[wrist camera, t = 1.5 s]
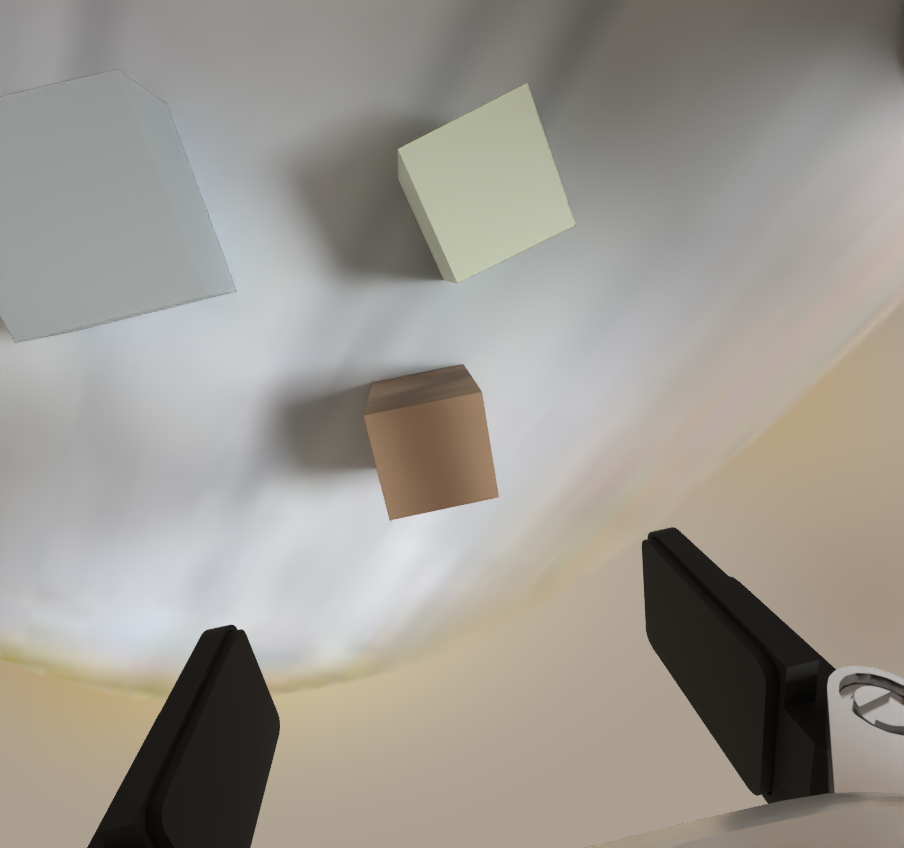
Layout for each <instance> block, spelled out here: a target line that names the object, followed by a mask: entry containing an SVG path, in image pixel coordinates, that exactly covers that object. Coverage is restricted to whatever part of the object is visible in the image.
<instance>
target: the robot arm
mask: <svg viewBox="0 0 904 848" xmlns="http://www.w3.org/2000/svg"><path fill="white" fill-rule="evenodd" d="M642 555H643V556H642V557H643V577H644V597H645V618H646V632H647V636H648V639H649V642H650V644H651V645H652V647H653V649H654V650H655V652H656V653H657V655H658V656H659V658H660V659H661V661H662V662H663V663H664V665H665V666H666V668H667V669H668V671H669V672H670V674H671V675H672V677H673V678H674V680H675V681H676V683H677V684H678V686H679V687H680V689H681V690H682V692H683V693H684V694H685V696H686V697H687V699H688V700H689V702H690V703H691V705H692V706H693V708H694V709H695V711H696V712H697V714H698V715H699V716H700V718H701V719H702V721H703V722H704V724H705V725H706V727H707V728H708V730H709V731H710V733H711V734H712V736H713V737H714V739H715V740H716V741H717V743H718V744H719V746H720V747H721V749H722V750H723V752H724V753H725V755H726V756H727V758H728V759H729V761H730V762H731V763H732V765H733V767H734V768H735V770H736V771H737V772H738V774H739V775H740V777H741V778H742V780H743V781H744V783H745V784H746V786H747V787H748V788H749V790H750V791H751V792H752V793H753V794H755V795H761V794H762V796H763V797H764V798H765V800H766V801H767V803H768V804H767V805H762V806H757V807H753V808H749V809H744V810H739V811H735V812H730V813H726V814H721V815H717V816H713V817H708V818H704V819H699V820H695V821H691V822H687V823H683V824H679V825H675V826H671V827H667V828H663V829H659V830H655V831H651V832H647V833H643V834H639V835H635V836H631V837H626V838H622V839H618V840H615V841H610V842H606V843H602V844H598V845H594V846H590V847H586V848H904V679H903V678H901V677H899V676H897V675H895V674H892V673H889V672H886V671H883V670H880V669H877V668H871V667H865V666H846V667H843V668H840V669H837V670H836V669H835V668H834V667H833V666H832V665H830V664H829V663H828V662H827V661H826V660H825V659H824V658H823V657H822V656H821V655H819V654H818V653H817V652H816V651H815V650H814V649H813V648H812V647H810V645H808V644H807V643H806V642H805V641H804V640H803V639H802V638H801V637H800V636H799V635H797V634H796V633H795V632H794V631H793V630H792V629H791V628H790V627H788V625H786V624H785V623H784V622H783V621H782V620H781V619H780V618H779V617H778V616H777V615H775V614H774V613H773V612H772V611H771V610H770V609H769V608H768V607H767V606H766V605H764V604H763V603H762V602H761V601H760V600H759V599H758V598H757V597H755V596H754V595H753V594H752V593H751V592H750V591H749V590H748V589H747V588H745V586H743V585H742V584H741V583H740V582H739V581H737V580H736V579H735V578H733V577H730V576H728V575H727V574H725V573H724V572H723V571H722V570H721V569H720V568H719V567H718V566H717V565H716V564H715V563H714V562H712V561H711V560H710V559H709V558H708V557H707V556H706V555H705V554H704V553H703V552H702V551H701V550H699V549H698V548H697V547H696V546H695V545H694V544H693V543H692V542H691V541H690V540H689V539H687V538H686V537H685V536H684V535H683V534H682V533H681V532H680V531H679V530H677V529H676V528H673V527H672V528H667V529H663V530H658V531H654V532H650V533H649V534H648V539H647V540H644V541H643V542H642ZM279 731H280V721H279V716H278V713H277V710H276V708H275V705H274V703H273V700H272V698H271V695H270V693H269V690H268V688H267V685H266V683H265V680H264V678H263V675H262V673H261V670H260V668H259V665H258V663H257V660H256V658H255V655H254V653H253V650H252V648H251V645H250V643H249V640H248V638H247V635H246V633H245V631H243V630H237V628H236V627H235V626H234V625H228V626H223V627H219V628H214V629H210V630H206V631H205V632H204V633H203V634H202V635H201V637H200V639H199V641H198V643H197V645H196V646H195V648H194V650H193V652H192V654H191V656H190V658H189V660H188V661H187V663H186V665H185V667H184V669H183V671H182V673H181V674H180V676H179V678H178V680H177V682H176V684H175V686H174V688H173V689H172V691H171V693H170V695H169V697H168V699H167V701H166V703H165V704H164V706H163V708H162V710H161V712H160V713H159V715H158V717H157V719H156V720H155V722H154V724H153V726H152V728H151V730H150V732H149V734H148V735H147V737H146V739H145V741H144V743H143V745H142V747H141V748H140V751H139V752H138V754H137V756H136V758H135V760H134V762H133V763H132V765H131V767H130V769H129V771H128V773H127V775H126V776H125V779H124V780H123V782H122V784H121V786H120V788H119V789H118V791H117V793H116V795H115V797H114V799H113V801H112V802H111V804H110V806H109V808H108V810H107V812H106V814H105V816H104V817H103V819H102V821H101V823H100V825H99V827H98V829H97V831H96V832H95V834H94V836H93V838H92V840H91V842H90V844H89V845H88V847H87V848H250V846H251V843H252V839H253V835H254V831H255V827H256V823H257V819H258V815H259V811H260V807H261V803H262V799H263V795H264V791H265V787H266V783H267V780H268V776H269V772H270V768H271V764H272V760H273V756H274V752H275V748H276V744H277V740H278V736H279Z"/></svg>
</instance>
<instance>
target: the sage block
mask: <svg viewBox="0 0 904 848" xmlns="http://www.w3.org/2000/svg"><path fill="white" fill-rule="evenodd" d="M398 180H399V183H400V185H401V187H402V189H403V191H404V194H405V196H406V198H407V200H408V202H409V205H410V207H411V209H412V211H413V213H414V216H415V218H416V220H417V222H418V224H419V227H420V229H421V231H422V233H423V236H424V238H425V240H426V242H427V244H428V247H429V249H430V251H431V253H432V255H433V258H434V260H435V262H436V264H437V266H438V269H439V271H440V273H441V275H442V278H443V280H445V281H449V282H453V283H457V284H458V283H460V282H462V281H464V280H466V279H468V278H470V277H472V276H474V275H476V274H478V273H480V272H482V271H484V270H486V269H488V268H490V267H492V266H494V265H496V264H498V263H500V262H502V261H504V260H506V259H508V258H510V257H512V256H514V255H516V254H518V253H520V252H522V251H524V250H526V249H528V248H530V247H532V246H534V245H536V244H538V243H540V242H543V241H545V240H547V239H549V238H551V237H553V236H555V235H557V234H559V233H561V232H563V231H565V230H567V229H569V228H571V227H573V226H575V225H576V224H575V221H574V218H573V215H572V212H571V209H570V206H569V204H568V201H567V198H566V195H565V192H564V189H563V186H562V183H561V180H560V177H559V174H558V171H557V168H556V165H555V163H554V160H553V157H552V154H551V151H550V148H549V145H548V142H547V139H546V136H545V133H544V130H543V127H542V124H541V122H540V119H539V116H538V113H537V110H536V107H535V104H534V101H533V98H532V95H531V92H530V89H529V86H528V83H526V84H524V85H522V86H520V87H518V88H516V89H514V90H512V91H510V92H508V93H506V94H504V95H502V96H500V97H498V98H496V99H495V100H493V101H491V102H489V103H487V104H485V105H483V106H481V107H479V108H477V109H475V110H473V111H471V112H469V113H467V114H465V115H463V116H461V117H459V118H457V119H455V120H453V121H451V122H450V123H448V124H446V125H444V126H442V127H440V128H438V129H436V130H434V131H432V132H430V133H428V134H426V135H424V136H422V137H420V138H418V139H416V140H414V141H412V142H410V143H408V144H406V145H405V146H403V147H401V148H399V149H398Z"/></svg>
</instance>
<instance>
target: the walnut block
mask: <svg viewBox="0 0 904 848" xmlns="http://www.w3.org/2000/svg"><path fill="white" fill-rule="evenodd" d="M363 416H364V420H365V424H366V428H367V432H368V436H369V440H370V444H371V448H372V452H373V456H374V460H375V464H376V468H377V472H378V476H379V480H380V484H381V488H382V492H383V496H384V500H385V504H386V508H387V512H388V516H389V519H390V520H393V519H398V518H403V517H407V516H412V515H417V514H422V513H426V512H431V511H436V510H440V509H445V508H450V507H455V506H459V505H464V504H469V503H474V502H478V501H483V500H488V499H493V498H497V497H499V496H498V489H497V483H496V477H495V471H494V465H493V458H492V452H491V446H490V440H489V433H488V427H487V421H486V415H485V409H484V402H483V396H482V391H481V390H480V388H479V387H478V385H477V384H476V382H475V381H474V379H473V378H472V376H471V375H470V373H469V372H468V370H467V369H466V367H465V366H464V364H463V365H457V366H452V367H447V368H442V369H437V370H432V371H427V372H422V373H417V374H412V375H407V376H402V377H397V378H392V379H387V380H382V381H376V382H371V386H370V390H369V394H368V398H367V403H366V407H365V411H364V415H363Z"/></svg>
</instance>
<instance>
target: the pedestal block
mask: <svg viewBox="0 0 904 848" xmlns="http://www.w3.org/2000/svg"><path fill="white" fill-rule="evenodd" d="M236 291H237V290H236V287H235V284H234V282H233V279H232V276H231V273H230V271H229V268H228V265H227V263H226V260H225V257H224V255H223V252H222V249H221V247H220V244H219V241H218V239H217V236H216V233H215V231H214V228H213V225H212V223H211V220H210V217H209V215H208V212H207V209H206V207H205V204H204V201H203V198H202V196H201V193H200V190H199V188H198V185H197V182H196V180H195V177H194V174H193V172H192V169H191V166H190V164H189V161H188V158H187V156H186V153H185V150H184V148H183V145H182V142H181V140H180V137H179V134H178V132H177V129H176V126H175V123H174V121H173V118H172V115H171V113H170V110H169V107H168V105H167V103H165V102H164V101H163V100H161V99H160V98H158V97H157V96H155V95H154V94H153V93H151V92H150V91H148V90H147V89H145V88H144V87H143V86H141V85H140V84H138V83H137V82H135V81H134V80H133V79H131V78H130V77H128V76H127V75H125V74H124V73H122V72H121V71H120V70H118V69H116V70H112V71H107V72H103V73H99V74H94V75H90V76H86V77H82V78H77V79H73V80H69V81H64V82H60V83H56V84H52V85H47V86H43V87H39V88H34V89H30V90H26V91H22V92H17V93H13V94H9V95H5V96H0V316H1V318H2V320H3V322H4V324H5V325H6V327H7V329H8V331H9V333H10V335H11V336H12V338H13V340H14V342H15V343H17V342H22V341H27V340H32V339H37V338H42V337H48V336H53V335H58V334H63V333H68V332H73V331H77V330H81V329H85V328H90V327H94V326H98V325H102V324H106V323H110V322H114V321H118V320H122V319H126V318H130V317H134V316H138V315H142V314H147V313H151V312H155V311H159V310H163V309H167V308H171V307H175V306H179V305H183V304H187V303H191V302H195V301H199V300H203V299H208V298H212V297H216V296H220V295H224V294H228V293H232V292H236Z"/></svg>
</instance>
